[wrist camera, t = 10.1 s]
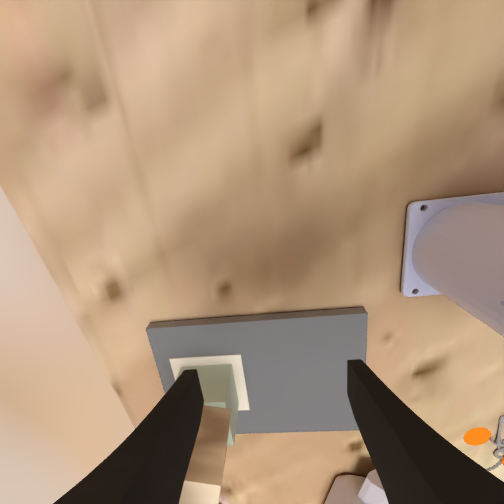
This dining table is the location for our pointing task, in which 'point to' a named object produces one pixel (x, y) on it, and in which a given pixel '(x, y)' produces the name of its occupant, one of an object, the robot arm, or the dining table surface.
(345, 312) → the board
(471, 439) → the key chain
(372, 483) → the charger
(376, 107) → the dining table surface
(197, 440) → the maple block
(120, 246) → the dining table surface
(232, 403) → the sage base block
